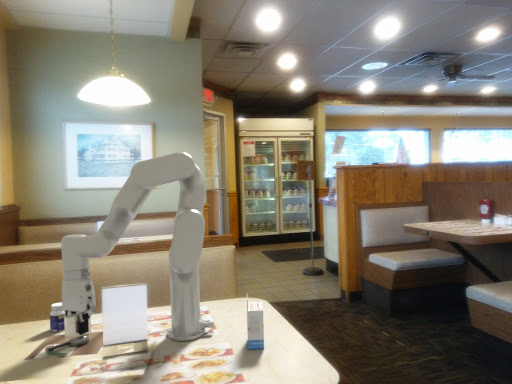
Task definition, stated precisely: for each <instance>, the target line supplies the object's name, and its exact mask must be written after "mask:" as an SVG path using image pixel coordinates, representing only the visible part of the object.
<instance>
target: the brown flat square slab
mask: <svg viewBox="0 0 512 384" xmlns="http://www.w3.org/2000/svg"><path fill="white" fill-rule="evenodd" d="M65 342H68V340H66V339H65V334H55V335H54V334H53V335H49V336H48V337H47V338H46V339H44V340H43V342H41V343H40V344H39V345H38V346H37V347H36V348H35V349H34V350H33V351H32V352H30V354H28V355H27V356H26V357H25V358H24V359H23V360H24V361H26V360H28V361H29V360H38V359H51V358H65V357H72V356H86V355H97V354H98V353H99V351H100V350H101V349H102V347H103V345H104V344H103V331H93V332H92V331H91V334H89V342H88V343H86V344H84V345H81V346H77V347H70V346H68V345H66V346H63V347H60V348H57V349H55V350H52V351H47V349H48V348H51V347H53V346H56V345H59V344H62V343H65Z"/></svg>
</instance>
